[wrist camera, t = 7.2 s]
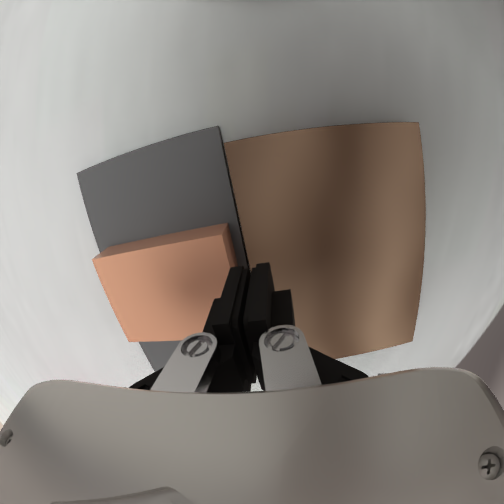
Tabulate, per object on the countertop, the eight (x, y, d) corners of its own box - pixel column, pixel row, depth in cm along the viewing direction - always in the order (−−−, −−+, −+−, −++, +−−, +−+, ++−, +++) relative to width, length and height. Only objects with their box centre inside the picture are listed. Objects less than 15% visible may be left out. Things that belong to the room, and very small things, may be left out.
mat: (219, 126, 13) (217, 126, 13) (269, 363, 19) (269, 366, 18) (80, 172, 14) (76, 173, 14) (156, 367, 20) (154, 371, 20)
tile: (228, 222, 15) (221, 234, 13) (249, 314, 17) (247, 335, 15) (108, 246, 16) (91, 259, 14) (139, 324, 18) (129, 341, 16)
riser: (405, 123, 12) (418, 122, 11) (404, 328, 17) (412, 341, 16) (228, 143, 13) (223, 143, 12) (272, 352, 18) (271, 367, 17)
